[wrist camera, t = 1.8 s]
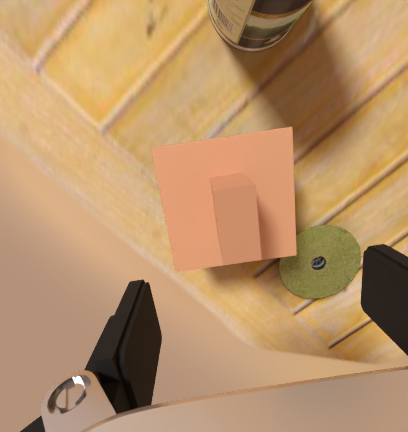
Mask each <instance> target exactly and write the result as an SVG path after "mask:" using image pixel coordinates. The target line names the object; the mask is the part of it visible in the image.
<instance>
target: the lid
mask: <svg viewBox="0 0 408 432" xmlns="http://www.w3.org/2000/svg"><path fill="white" fill-rule="evenodd" d="M151 152H152V157H153V162H154V167H155V172H156V176H157V181H158V186H159V191H160V196H161V201H162V206H163V211H164V216H165V221H166V226H167V230H168V235H169V240H170V245H171V250H172V255H173V260H174V265H175V270H176V272H180V271H187V270H194V269H201V268H208V267H216V266H223V265H230V264H237V263H244V262H251V261H259V260H266V259H273V258H280V257H287V256H295V255H297V252H296V222H295V192H294V162H293V132H292V127H285V128H279V129H272V130H266V131H259V132H252V133H246V134H239V135H233V136H226V137H220V138H213V139H206V140H200V141H193V142H187V143H180V144H174V145H167V146H160V147H154V148H151Z"/></svg>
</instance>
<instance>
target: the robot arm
mask: <svg viewBox="0 0 408 432" xmlns="http://www.w3.org/2000/svg"><path fill="white" fill-rule="evenodd" d="M361 306H362V309H363V311H364V312H365V313H366V314H367V315H368V316H369V317H370V318H371V319H372V320H373V321H374V322H375V323H376V324H377V325H378V326H379V327H380V328H381V329H382V330H383V331H384V332H385V333H386V334H387V335H388V336H389V337H390V338H391V339H392V340H393V341H394V342H395V343H396V344H397V345H398V346H399V347H400V348H401V349H402V350H403V351H404V352H405V353H406V355H408V257H407V256H405V255H404V254H402V253H400V252H398V251H396V250H394V249H393V248H391V247H389V246H387V245H385V244H381V245H374V246H369V247H368V248H367V250H365V251H364V255H363V273H362V290H361ZM161 341H162V335H161V330H160V326H159V321H158V317H157V314H156V309H155V305H154V301H153V297H152V293H151V289H150V285H149V283H148V282H147V283H145V282H144V280H137V281H131V282H129V284H128V286H127V289H126V291H125V293H124V295H123V297H122V300H121V302H120V304H119V306H118V308H117V310H116V313H115V315H113V316H111V317H110V318H109V320H108V322H107V324H106V326H105V328H104V330H103V332H102V334H101V336H100V338H99V340H98V343H97V345H96V347H95V349H94V351H93V353H92V355H91V357H90V359H89V361H88V363H87V365H86V368H85V370H84V371H77V372H74V373H71V374H69V375H68V376H66V377H64V378H62V379H61V380H60V381H59V382H57V383H56V384H55V385H54V386H53V387H52V388H51V389H50V390H49V392H48V393H47V395H46V396H45V398H44V400H43V402H42V405H41V416H40V417H39V418H37V419H36V420H35V421H33V422H32V423H31V424H30V425H28V426H27V427H26V428H24V429H23V430H22V431H20V432H408V366H406V367H398V368H391V369H384V370H376V371H370V372H363V373H355V374H348V375H341V376H334V377H328V378H320V379H314V380H306V381H300V382H293V383H286V384H279V385H273V386H266V387H259V388H252V389H246V390H239V391H233V392H226V393H219V394H212V395H207V396H200V397H194V398H188V399H182V400H176V401H170V402H165V403H159V404H155V405H151V402H152V396H153V389H154V384H155V378H156V371H157V366H158V359H159V353H160V347H161Z"/></svg>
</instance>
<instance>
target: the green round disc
mask: <svg viewBox="0 0 408 432" xmlns="http://www.w3.org/2000/svg"><path fill="white" fill-rule="evenodd" d="M296 252H297V255H295V256H287V257H281V258H280V262H279V273H280V278H281V279H282V281H283V283H284V285H285V286H286V287H287V288H288V289H289V290H290V291H291V292H293V293H294V294H296V295H298V296H301V297H304V298H314V299H315V298H323V297H327V296H330V295H333V294H335V293H337V292H338V291H340V290H342V289H343V288H344V287H345V286H347V285H348V284H349V282H351V280H352V279H353V278H354V276H355V275H356V273H357V271H358V268H359V265H360V261H361V256H360V255H361V253H360V252H361V251H360V247H359V245H358V243H357V241H356V239H355V238H354V237H353V235H352V234H351V233H349V232H348V231H346V230H345V229H343V228H340V227H337V226H331V225H323V226H322V225H321V226H315V227H311V228H309V229H306V230H304V231H303V232H301V233H299V234H298V235H296Z"/></svg>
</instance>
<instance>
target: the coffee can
mask: <svg viewBox="0 0 408 432" xmlns="http://www.w3.org/2000/svg"><path fill="white" fill-rule="evenodd" d="M313 1H314V0H207V6H208V12H209V15H210V19H211V21H212V23H213V25H214V27H215V29H216V30H217V32H218V33H219V35H220V36H221V37H222V38H223V39H224V40H225V41H226V42H228V43H229V44H230V45H232V46H233V47H235V48H238V49H241V50H244V51H260V50H264V49H267V48H270V47H272V46H274V45H275V44H277V43H278V42H279V41H281V40H282V39H283V38H284V37H285V36H286V35H287V34H288V32H289V31H290V30H291V28H292V27H293V25H294V24H295V23H296V21H297V20H298V19H299V18H300V16H301V15H302V14H303V13H304V12H305V10H306V9H307V8H308V7H309V6H310V4H311V3H312V2H313Z"/></svg>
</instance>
